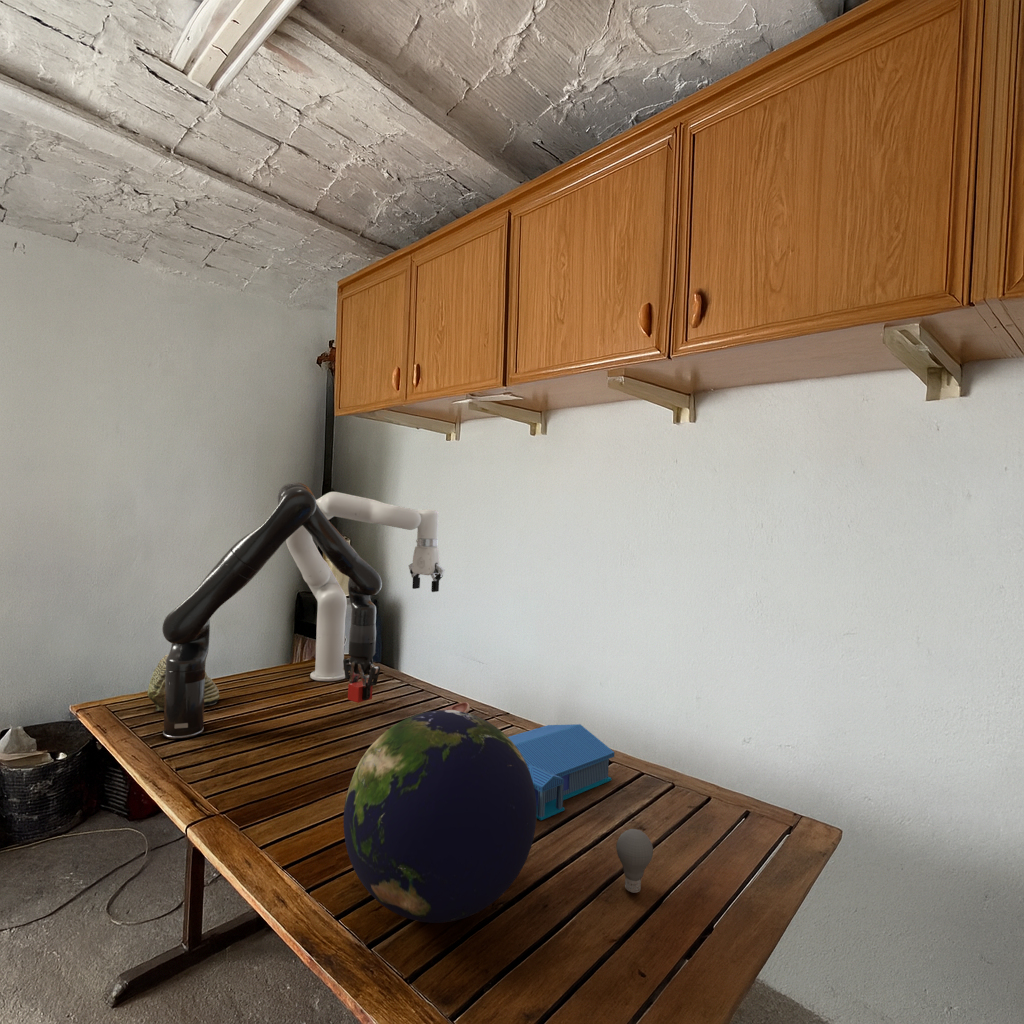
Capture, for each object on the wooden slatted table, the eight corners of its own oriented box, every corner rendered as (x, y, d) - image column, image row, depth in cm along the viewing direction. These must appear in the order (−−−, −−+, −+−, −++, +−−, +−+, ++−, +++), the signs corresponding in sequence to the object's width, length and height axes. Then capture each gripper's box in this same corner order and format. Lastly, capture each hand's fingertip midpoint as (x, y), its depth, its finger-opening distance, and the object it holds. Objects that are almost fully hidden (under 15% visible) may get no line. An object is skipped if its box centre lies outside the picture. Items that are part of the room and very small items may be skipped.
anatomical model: (417, 708, 179) (430, 696, 190) (416, 722, 179) (430, 710, 191) (462, 714, 177) (473, 701, 188) (461, 728, 177) (472, 715, 188)
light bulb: (610, 879, 108) (613, 822, 108) (644, 879, 109) (647, 822, 109) (619, 902, 102) (622, 840, 102) (655, 901, 103) (658, 840, 103)
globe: (296, 934, 92) (304, 728, 91) (406, 836, 119) (412, 678, 119) (484, 1004, 80) (494, 770, 80) (557, 878, 108) (565, 703, 108)
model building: (493, 841, 119) (496, 788, 119) (420, 792, 137) (422, 747, 137) (623, 784, 145) (625, 741, 145) (547, 750, 164) (548, 712, 163)
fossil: (144, 707, 182) (145, 655, 182) (212, 696, 194) (213, 647, 194) (151, 716, 175) (153, 662, 175) (221, 703, 188) (223, 653, 188)
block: (347, 699, 183) (348, 684, 183) (361, 695, 187) (362, 680, 187) (358, 702, 180) (358, 687, 180) (372, 698, 184) (372, 683, 184)
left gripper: (336, 636, 184) (333, 695, 185) (369, 645, 176) (366, 706, 176) (356, 633, 190) (354, 689, 191) (389, 641, 182) (386, 700, 182)
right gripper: (403, 541, 233) (401, 588, 234) (437, 545, 223) (435, 593, 223) (418, 541, 239) (416, 586, 240) (451, 544, 229) (449, 592, 229)
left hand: (359, 697), depth 183 cm, fingers closed on block, 4 cm apart
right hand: (425, 590), depth 231 cm, fingers open, 9 cm apart
